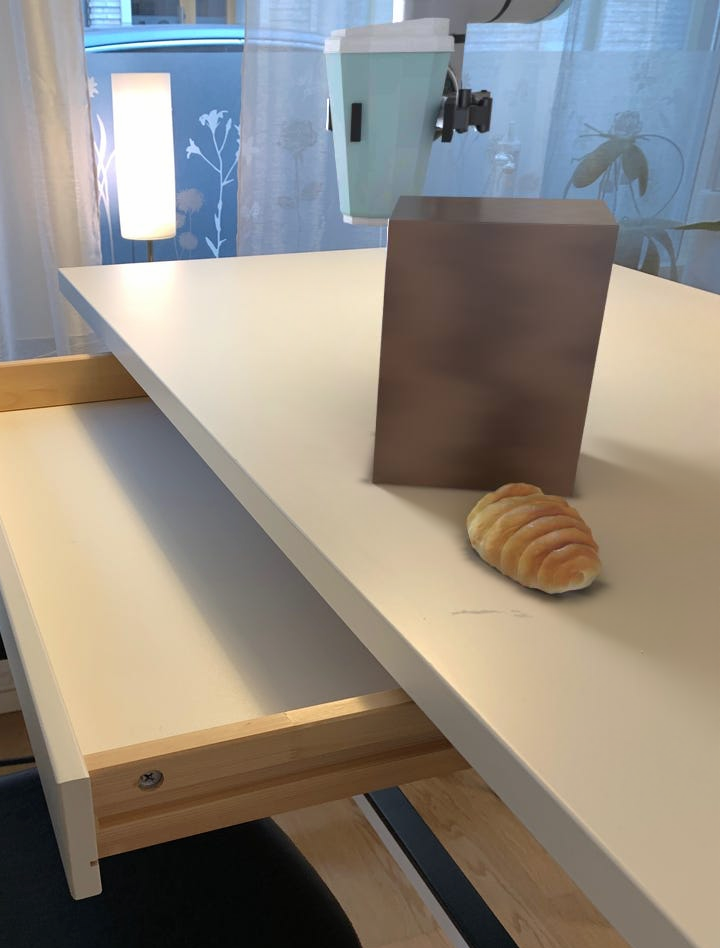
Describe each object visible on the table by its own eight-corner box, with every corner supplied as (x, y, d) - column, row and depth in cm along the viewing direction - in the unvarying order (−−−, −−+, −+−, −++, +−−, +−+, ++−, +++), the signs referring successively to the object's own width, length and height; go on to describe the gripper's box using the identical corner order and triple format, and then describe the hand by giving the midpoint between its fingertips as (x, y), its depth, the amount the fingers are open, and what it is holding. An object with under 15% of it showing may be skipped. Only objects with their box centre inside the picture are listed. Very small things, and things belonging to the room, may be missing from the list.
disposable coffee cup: (301, 228, 86) (303, 21, 78) (341, 209, 94) (346, 19, 86) (424, 235, 82) (439, 17, 74) (454, 213, 91) (471, 16, 83)
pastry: (628, 592, 60) (640, 533, 58) (525, 609, 58) (533, 550, 56) (544, 526, 67) (553, 472, 65) (451, 540, 66) (457, 485, 64)
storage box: (553, 390, 91) (587, 171, 82) (571, 498, 71) (619, 225, 62) (396, 382, 94) (412, 169, 84) (372, 484, 74) (388, 220, 64)
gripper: (516, 144, 99) (522, 176, 80) (318, 142, 103) (278, 173, 83) (526, 55, 95) (535, 67, 76) (320, 57, 99) (279, 68, 79)
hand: (401, 123), depth 80 cm, fingers open, 6 cm apart
